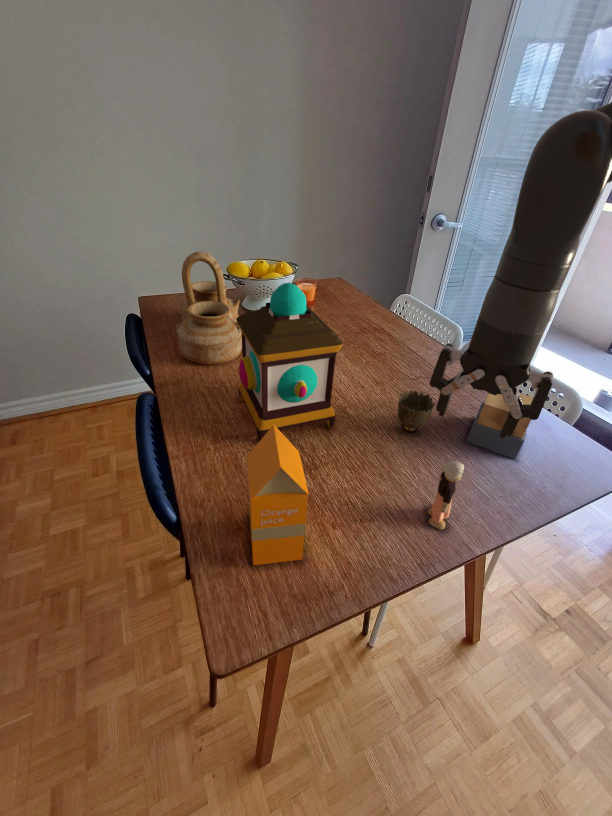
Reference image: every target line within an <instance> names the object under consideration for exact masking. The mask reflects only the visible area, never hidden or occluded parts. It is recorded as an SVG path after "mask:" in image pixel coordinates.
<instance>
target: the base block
mask: <svg viewBox="0 0 612 816" xmlns="http://www.w3.org/2000/svg"><path fill="white" fill-rule="evenodd" d="M484 403H485V401H482V402H481V404H480V405H479V406H480V407H479V409H478V411H477V413H476V417H475V419H474V421H473V424H472V426H471V429H470V431H469V434H468V437H467V440H466V442H467V443H470V444H471V445H472V444H473V445H475V446H478V447H481V448H483V449H486V450H488V451H491V452H495V453H497V454H500V455H502V456H505V457H508V458H510V459H513V460H516V459H517V457H518V455H519V453H520V451H521V449H522V448H523V445H524V443H525V439H526V435H527V431H528V429H527V430H526V432H525V434H524V436H523V438H519V437H516V436H513V435H511V436H507V435H506V436H505V438H501V437H499V436H500V432H501V431H498V430H495V429H492V428H490V427H487V426H484V425H481V424H478V423H477V420H478V418H479V415H480V413H481V410H482V408H483V405H484Z"/></svg>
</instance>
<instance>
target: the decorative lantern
mask: <svg viewBox="0 0 612 816" xmlns="http://www.w3.org/2000/svg"><path fill="white" fill-rule="evenodd" d="M236 321H237V324H238V326H239V328H240V329H241V332H242V350H241V352H242V358H241V359H240V362H239V365H238V375H239V380H240V385H239V386H238V391H237V392H238V398H239V400H240V401H242V402H243V403H244V405H245V407H246V410H247V412H248V414H249V416H250V418H251V420H252V423H253V425H254V427H255V430H256V435H257V439H258V440H257V441H258V442H259V441H260V440H261V439H262V438H263V437H264V436H265V434H266V433H267V432H268V431H269V430H270V429H271V427H272V426H273V424H274V425H275V426H276V427H277V428H278V430H279V431H281V430H283V429H289V428H294V427H299V426H304V425H310V424H314V423H319V422H323V421H324V422H325V421H326V425H327V427H328V429H329V428H330V429H331V428H333V427H334V426H335V423H336V413H335V410H334V408H333V406H332V394H333V384H334V377H335V368H336V367H335V365H336V359H337V355H338V352H339V351H340V350H341V348H342V347H343V345H344V343H343V341H342V340H341V339H340V337H339V336H338V335H337V334H336V332H335V331H334V330H332V328H330V326H328V324H326V322H325V321H323V320H322V318H320V316H319V315H318V314H316V313H315V311H314V310H312V308H310V306H308V305H307V297H306V294H305V293H304V292H303V290H301V288H300V287H299V286H298V285H296V284H295V283H293V282H285V283H284V282H283V283H282V284H280V285H279V286H277V287H276V289H274V291H272V293H271V294H270V300H269V302H266V303H265V305H264V306H261V307H260V308H259V309H255V310H247V311H245V312H244V313H241V314H240V315H238V317H237V318H236Z"/></svg>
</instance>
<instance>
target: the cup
mask: <svg viewBox="0 0 612 816" xmlns="http://www.w3.org/2000/svg"><path fill="white" fill-rule="evenodd" d="M397 404H398V407H397V417H398V420H399V422H400V424H401V428H402V430H403V431H404V432H406V433H409V434H410V433H411V434H412V433H416V432H417V431H418V430H419V428H421V427H424V426H425V424H426V423H427V422H428V420H429V417H430V416H431V414H432V412H433V409H434V408H435V405H436V403H435V402H433V397H430V394H429V393H428V394H424V392H423V391H421V392H420V393H418V391H417V390H414V391H413V390H409V392H408V390H406V391H405V392H400V394H399V396H398V403H397Z"/></svg>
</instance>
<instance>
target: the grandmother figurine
mask: <svg viewBox="0 0 612 816" xmlns="http://www.w3.org/2000/svg"><path fill="white" fill-rule="evenodd" d="M464 470H465V465H464V464H463V463H462V462H460V461H455V460H451V461H449V462H445V464H443V465H441V466H440V471H441V473H440V476H439V482H438V486H437V492H436V497H435V500H434V502H433V504H432V506H431V507H430V508H428V509H427V513H428V515H429V516H431V517H430V518H429V520H428V524H429V525H430V526H432V527H434V528H436V529H438V530H444V529H445V528H446V522H445V521H444V519H448V518H449V516H450V513H451V508H452V501H453V496H454V494H455V492H456V483H458V482H459V481H460V480H461V479H462V477H463V474H464Z"/></svg>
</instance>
